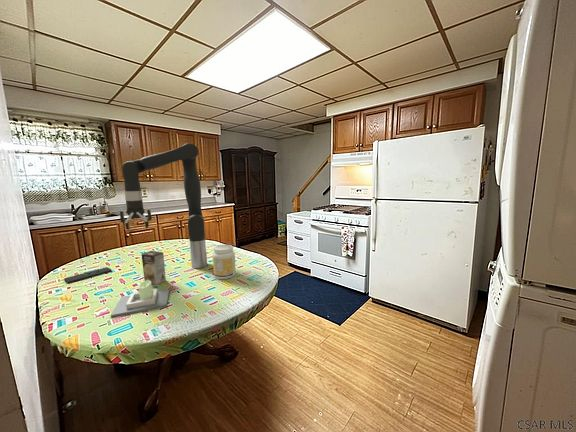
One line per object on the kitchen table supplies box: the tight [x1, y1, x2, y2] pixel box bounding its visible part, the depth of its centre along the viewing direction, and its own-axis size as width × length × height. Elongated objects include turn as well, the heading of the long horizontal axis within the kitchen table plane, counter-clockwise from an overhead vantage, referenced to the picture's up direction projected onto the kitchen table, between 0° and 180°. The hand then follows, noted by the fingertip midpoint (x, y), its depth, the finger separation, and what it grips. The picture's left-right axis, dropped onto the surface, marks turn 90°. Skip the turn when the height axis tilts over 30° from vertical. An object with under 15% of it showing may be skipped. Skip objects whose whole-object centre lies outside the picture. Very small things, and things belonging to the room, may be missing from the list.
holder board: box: [110, 288, 170, 318], centre depth 104 cm, size 20×16×3 cm
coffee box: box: [141, 250, 167, 286], centre depth 125 cm, size 9×6×16 cm
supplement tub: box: [212, 244, 237, 280], centre depth 131 cm, size 12×12×17 cm
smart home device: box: [63, 266, 113, 285], centre depth 134 cm, size 8×2×20 cm
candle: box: [138, 280, 153, 301], centre depth 104 cm, size 5×5×8 cm
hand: (137, 228), depth 127 cm, fingers open, 8 cm apart
